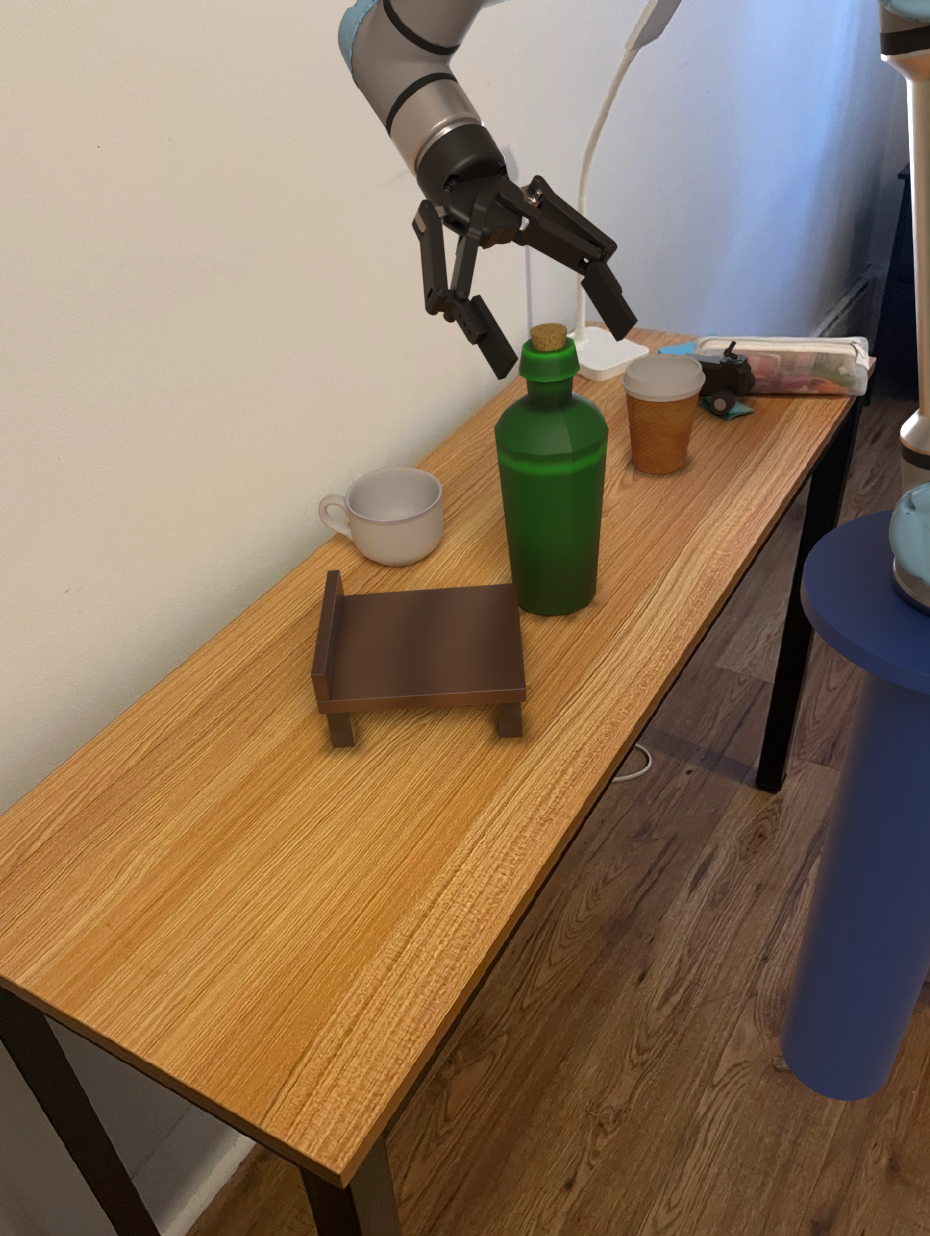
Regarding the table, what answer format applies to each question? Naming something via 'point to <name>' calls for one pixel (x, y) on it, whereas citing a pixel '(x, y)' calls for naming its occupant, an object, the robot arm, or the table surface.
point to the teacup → (390, 515)
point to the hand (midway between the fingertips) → (570, 350)
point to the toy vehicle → (725, 378)
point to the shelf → (418, 653)
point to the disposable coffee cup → (661, 409)
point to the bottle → (552, 478)
